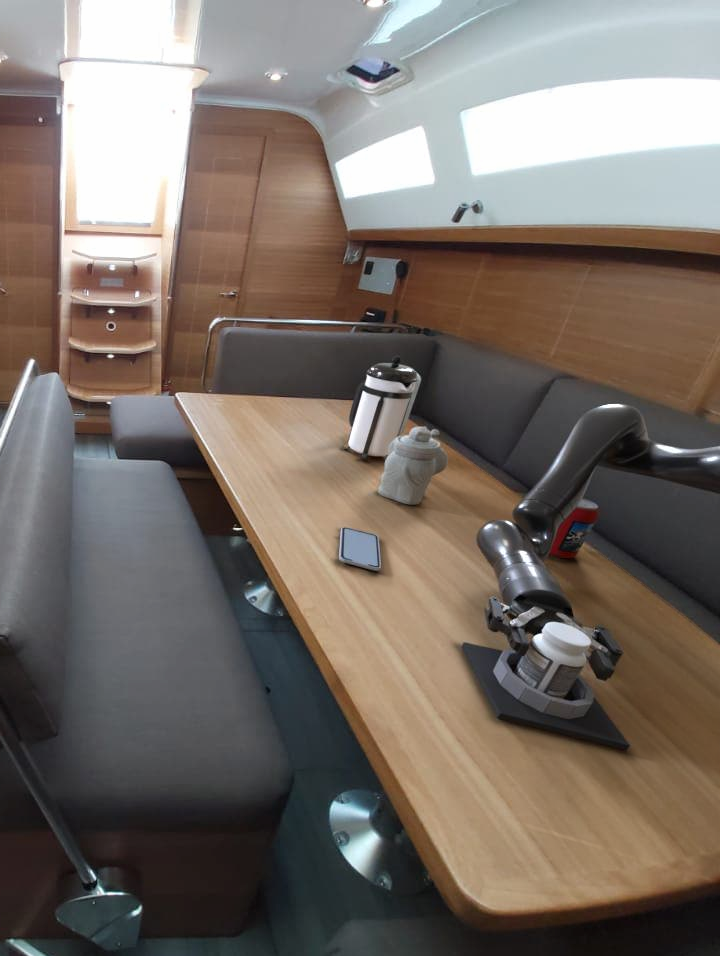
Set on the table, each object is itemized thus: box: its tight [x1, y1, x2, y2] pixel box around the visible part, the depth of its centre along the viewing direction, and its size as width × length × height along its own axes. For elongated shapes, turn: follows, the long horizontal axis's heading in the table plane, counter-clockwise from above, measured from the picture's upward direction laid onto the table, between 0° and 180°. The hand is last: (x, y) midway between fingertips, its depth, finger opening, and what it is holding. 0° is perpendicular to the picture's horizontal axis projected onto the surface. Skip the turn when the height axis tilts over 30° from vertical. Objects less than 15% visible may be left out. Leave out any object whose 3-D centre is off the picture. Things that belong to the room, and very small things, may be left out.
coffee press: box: [341, 355, 418, 462], centre depth 147 cm, size 17×16×30 cm
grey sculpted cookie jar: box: [378, 426, 448, 506], centre depth 125 cm, size 16×15×19 cm
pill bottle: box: [514, 622, 591, 699], centre depth 68 cm, size 6×6×10 cm
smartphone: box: [338, 526, 382, 572], centre depth 103 cm, size 7×1×15 cm
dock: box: [461, 641, 631, 751], centre depth 70 cm, size 14×14×4 cm
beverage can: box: [548, 497, 600, 559], centre depth 103 cm, size 7×7×12 cm
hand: (563, 662), depth 66 cm, fingers open, 8 cm apart
